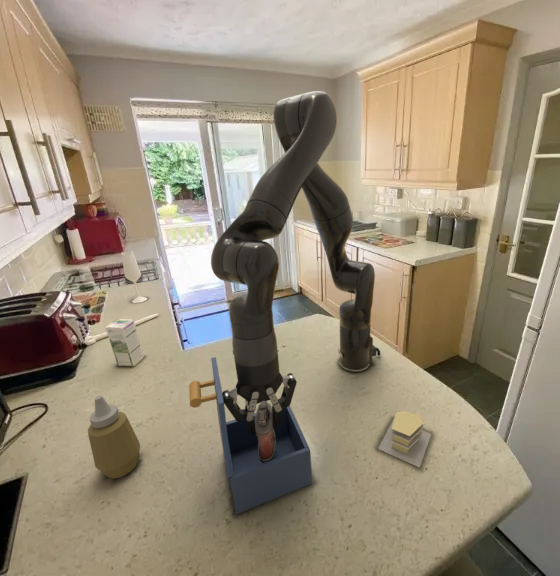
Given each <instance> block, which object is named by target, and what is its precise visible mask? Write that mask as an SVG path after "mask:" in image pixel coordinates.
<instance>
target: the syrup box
mask: <svg viewBox="0 0 560 576" xmlns="http://www.w3.org/2000/svg"><path fill="white" fill-rule="evenodd" d="M134 322H135V320H134V319H129V318H128V319H127V318H126V319H123V318H121V319H120V318H117V319H115V320H113V321H112V322H110V323H109V324H108V325H106V326H105V330H106V331H105V332H107V334H108V336H107V337H108V340H109V343H110V347H111V349H112V352H113V356H114V358H115V362H116V364H117V367H135V366H136V365H137V364H138V363H140V362H141V361H142V360H143V359H144V358H145V355H144V352H143V348H142V345H141V342H140V338H139V334H138V331H137V327H136V326H135V323H134Z"/></svg>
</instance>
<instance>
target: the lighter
mask: <svg viewBox="0 0 560 576" xmlns="http://www.w3.org/2000/svg"><path fill="white" fill-rule="evenodd" d="M255 413H256V415H255V429H256V436H257V438H258V451H259V459H260V462H261V463H266V462H268V461H271V460H273V457H274V454H275V447H276V441H275V433H274V430H273V413H272V403H269V402H268V401H262V402H260V403H258V406H257V408H256V410H255Z"/></svg>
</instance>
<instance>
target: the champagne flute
mask: <svg viewBox="0 0 560 576" xmlns="http://www.w3.org/2000/svg"><path fill="white" fill-rule="evenodd" d="M120 255H121V258H122V265H123V266H122V267H123V273H124V277H125V279H127V280H128V281H129V282H133V286H134V289H135V290H134V291H135V293H136V297H135V298H133V300H131V303H133V304H136V303H137V304H138V303H142V302H143V303H144V302H145V301H147V300H148V297H145V296H141V295H140V291H139V287H138V283H137V282H138V280H139V279H140V277H141V276H142V273H141V270H140V267H139V264H138V262H137V259H136V256H135V254H134V251H124V252H121V254H120Z"/></svg>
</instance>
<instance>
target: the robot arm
mask: <svg viewBox="0 0 560 576" xmlns="http://www.w3.org/2000/svg"><path fill="white" fill-rule="evenodd" d="M337 115H338V114H337V110H336V105H335V103H334V101H333V99H332V97H331V96H330V95H329V94H328V93H327V92H325V91H322V90H321V91H320V90H314V91H309V92H304V93H300V94H297V95H292V96H288V97H285V98H282V99H280V100H278V101H277V102H276V103H275V105H274V108H273V123H274V124H273V125H274V128H275V132H276V135H277V137H278V138H277V139H278V141H279V143H280V145H281V147H282V149H283V151H284V154H283V155H282V156H280V157H279V158H278V159H277V160H276V161H275V162H274V163H273V164H272V165H271V166H270V167H269V168H267V170H266V171H265V172H264V173H263V174H262V175H261V177H260V178H259V180H258V181H257V182H256V185H255V187H254V189H253V191H252V193H251V194H250V197H249V199H248V201H247V203H246V205H245V208H244V209H243V211H242V212H241V213H240V214H239V215H238V216H237V217H236V218H235V219H234V220H233V222H231V224H230V225H229V226H228V227H227V228H226V230H225V231H223V233H222V234H221V236H220V237H219V238H218V239H217V241H216V242H215V244H214V246H213V249H212V252H211V255H210V266H211V271H212V273H213V274H214V275H215V277H216V278H218V279H219V280H221V281H223V282H227V283H232V284H239V285H245V286H246V287H247V292H246V293H242V294H238V295H236V296H235V297H233V298H232V299H231V301H230V302H229V304H228V315H229V321H230V322H229V323H230V327H231V335H232V339H231V341H232V343H231V345H232V355H233V358H234V366H235V372H236V378H237V381H236V384H235V388H233V389H231V390H230V391H229V390H228V389H227V390H222V395H223V400H224V406H225V408H227V410H228V411H229V413H230V414H231V415H232V417H233V418H234V420H236V421H237V422H240V421H242V420H246V425H247V430H248V432H249V433H252V435H255V434H256V429H255V421H254V417H253V416H254V414H255V412H256V411H257V405H259V404H260V402H262V401H267V402H268V401H270V402H271V403H270V404H271V407H272V413H273V421H274V424H275V427H279V424H280V423H281V422H282V415H281V410H282V408H283V407H289V406H290V407H291V404H292V400H293V397H294V394H295V390H296V387H297V383H298V382H297V379H296V377H295V375H294V374H293V373H292V372H289V373H287V375H282V373H281V372H280V371H281V370H280V362H279V361H280V360H279V352H278V351H279V350H278V340H277V336H276V335H277V334H276V332H275V331H276V330H275V325H274V314H273V303H274V296H275V292H276V285H277V281H278V276H279V271H280V259H279V256H278V253H277V251H276V249H275V248H274V246H273V245H272V244H271V243H269V242H267V241H266V240H270V239H274V238H277V237H279V236H280V235H281V234H282V233H283V230H284V228H285V226H286V223H287V221H288V219H289V216H290V214H291V212H292V209H293V207H294V204H295V202H296V200H297V198H298V196H299V194H300V192H301V190H302V192H303V196H304V197H305V200H306V202H307V205H308V208H309V211H310V215H311V218H312V220H313V223H314V226H315V228H316V230H317V233H318V235H319V237H320V240H321V243H322V246H323V250H324V253H325V255H326V258H327V263H328V267H329V272H330V276H331V278H332V282H333V284H334V286H335V288H336V289H337V290H339V291H341V292H344V293H348V294H353V295H355V298H354V299H348V300H345V301H343V302H342V303H340V305H339V310H338V311H339V312H338V313H339V348H338V349H337V351H338V352H337V353H338V355H339V366H340V367H341V368H342V369H343V370H344V371H347V372H351V373H360V372H363V371H367V369H369V367H370V366H372V365H373V357H377V356H378V357H380V356H381V349H379V347H376V346H375V345H374V337H372V335H371V322H372V320H371V319H372V307H373V303H374V289H375V278H376V273H375V272H376V271H375V268H374V266H373V265H372V263H369V262H366V261H358V260H352V259H350V258H349V257H348V255H347V251H346V244H347V242H348V240H349V238H350V235H351V233H352V230H353V227H354V216H353V213H352V209H351V205H350V201H349V198H348V195H347V194H346V193H345V191H344V190H343V189H342V187H341V186H340V185H339V184H338V183H337V182H336V181H335V180H334V179H333V178H332V177H331V176H330V175H329V174H328V173H327V172H326V171H325V170H324V169H323V168H322V167H321V166H320V164H319V161H320V160H321V158H322V156H323V155H324V154H325V152H326V150H327V149H328V148H329V146H330V145H331V143H332V141H333V139H334V137H335V134H336V131H337V126H338V116H337ZM282 385H283V388H282V391H281V395H280V397H279V398H278V397H277V392H278V390H279V389H280V387H281V386H282ZM238 396H239V397H241V398H243V400H244V401H245V403H244V408H241V407H240V406H239V404H238V402H237V401H238Z"/></svg>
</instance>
